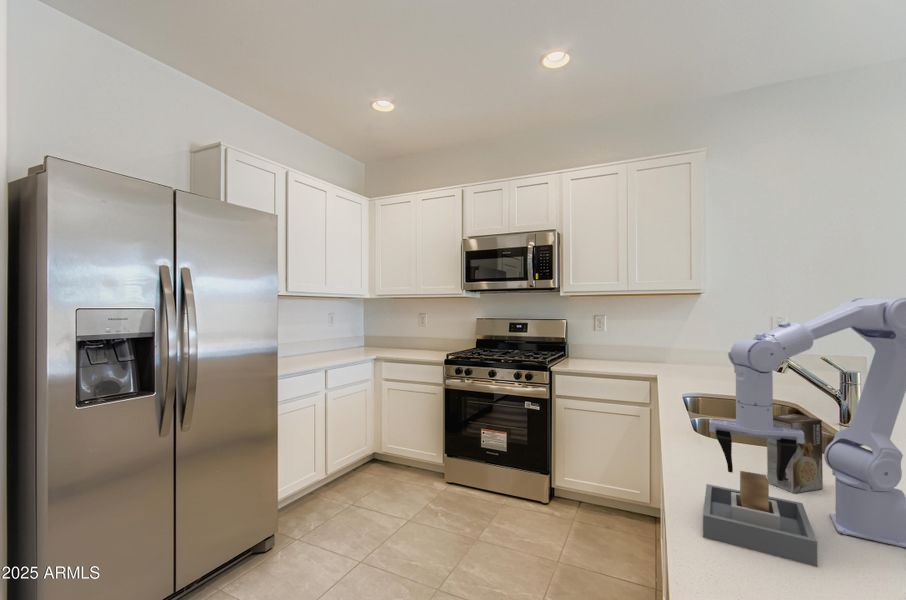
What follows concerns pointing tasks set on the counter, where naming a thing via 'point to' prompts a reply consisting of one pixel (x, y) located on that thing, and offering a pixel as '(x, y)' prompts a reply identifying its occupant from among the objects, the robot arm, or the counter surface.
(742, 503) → the peg
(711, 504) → the socket box
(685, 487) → the counter surface
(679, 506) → the counter surface
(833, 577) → the counter surface
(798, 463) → the coffee box
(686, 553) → the counter surface
